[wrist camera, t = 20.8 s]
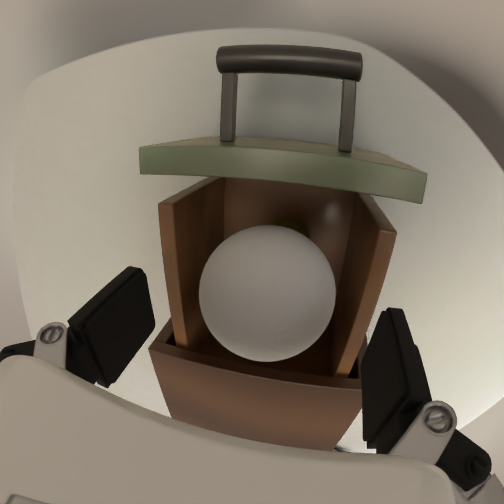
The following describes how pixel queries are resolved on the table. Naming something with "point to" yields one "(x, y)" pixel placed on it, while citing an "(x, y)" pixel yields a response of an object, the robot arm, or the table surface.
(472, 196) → the table surface
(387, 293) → the table surface
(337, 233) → the drawer
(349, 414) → the cabinet
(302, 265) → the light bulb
